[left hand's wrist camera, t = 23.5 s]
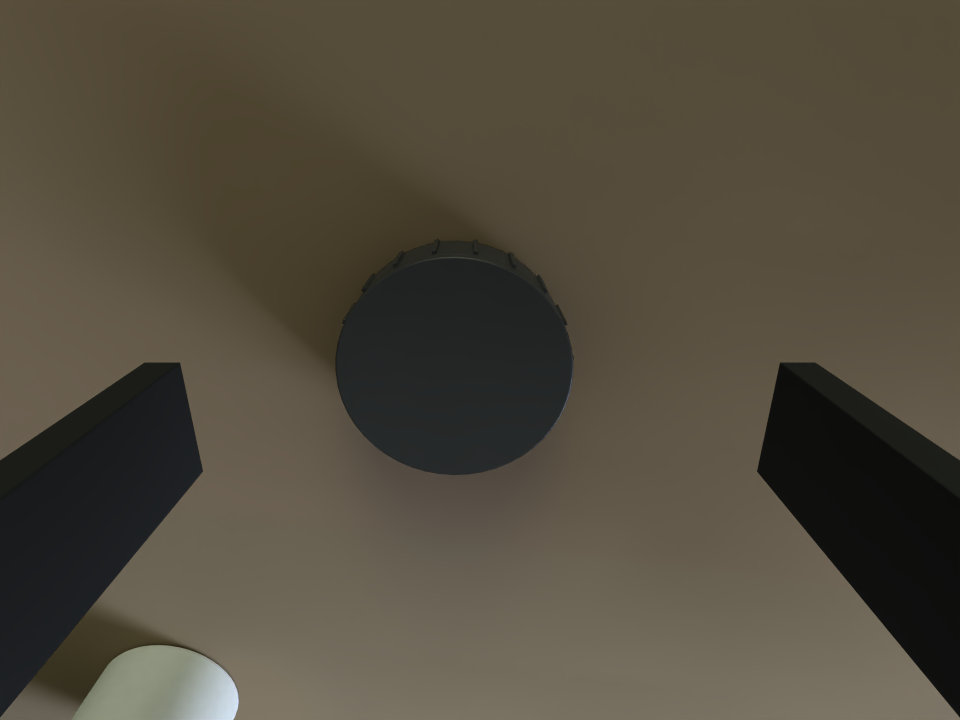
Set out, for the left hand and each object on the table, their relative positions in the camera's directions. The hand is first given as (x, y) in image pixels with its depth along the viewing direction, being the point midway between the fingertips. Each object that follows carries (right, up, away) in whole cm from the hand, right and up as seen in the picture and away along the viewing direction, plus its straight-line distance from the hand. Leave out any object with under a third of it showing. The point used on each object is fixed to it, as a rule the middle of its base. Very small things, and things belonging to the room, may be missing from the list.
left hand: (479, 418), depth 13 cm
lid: (-1, +1, +1) cm, 2 cm away
